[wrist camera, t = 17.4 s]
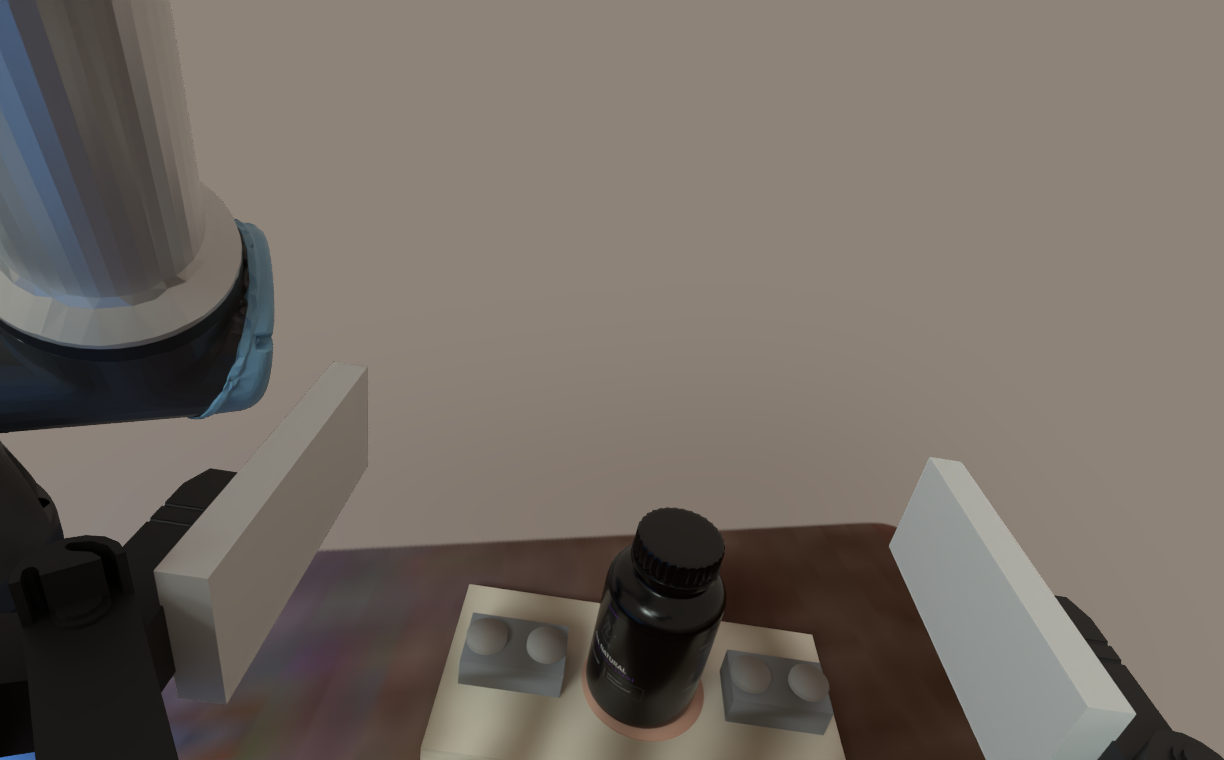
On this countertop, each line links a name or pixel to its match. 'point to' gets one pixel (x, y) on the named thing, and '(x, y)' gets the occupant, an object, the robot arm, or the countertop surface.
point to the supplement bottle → (657, 619)
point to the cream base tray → (576, 725)
